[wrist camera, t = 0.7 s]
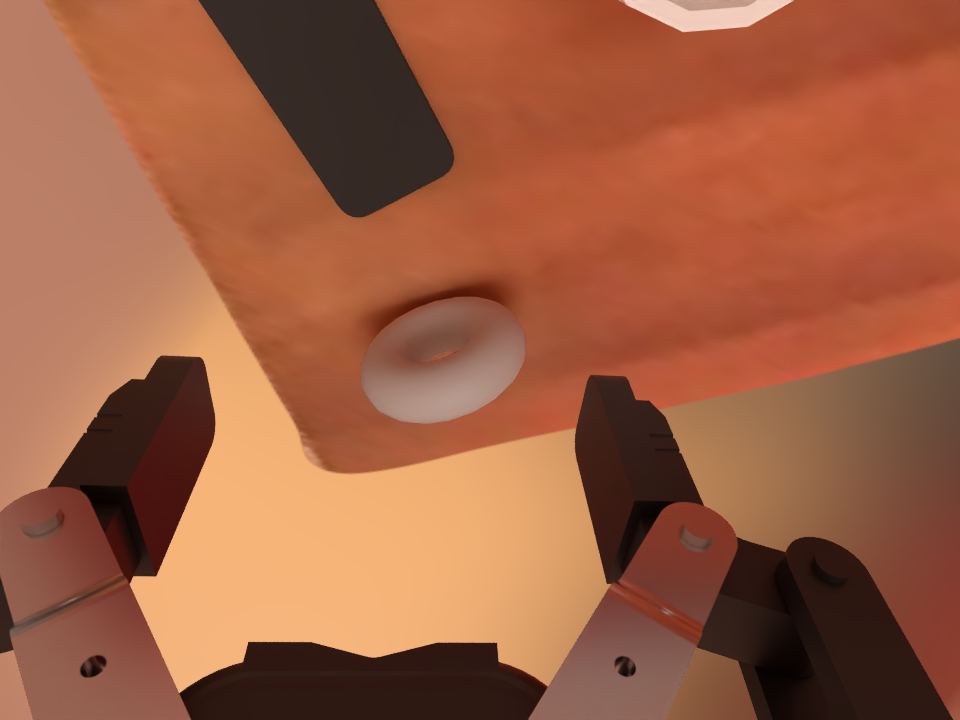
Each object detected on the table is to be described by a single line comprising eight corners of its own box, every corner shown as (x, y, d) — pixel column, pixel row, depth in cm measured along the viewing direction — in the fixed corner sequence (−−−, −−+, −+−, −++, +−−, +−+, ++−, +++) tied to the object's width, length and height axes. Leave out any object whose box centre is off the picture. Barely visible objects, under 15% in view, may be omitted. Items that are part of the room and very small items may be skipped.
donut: (510, 268, 40) (528, 361, 32) (523, 313, 42) (543, 412, 34) (359, 309, 41) (340, 409, 33) (379, 351, 43) (365, 456, 35)
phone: (349, 225, 37) (165, -46, 29) (351, 219, 38) (171, -47, 30) (462, 166, 36) (300, -138, 27) (461, 161, 36) (303, -138, 28)
